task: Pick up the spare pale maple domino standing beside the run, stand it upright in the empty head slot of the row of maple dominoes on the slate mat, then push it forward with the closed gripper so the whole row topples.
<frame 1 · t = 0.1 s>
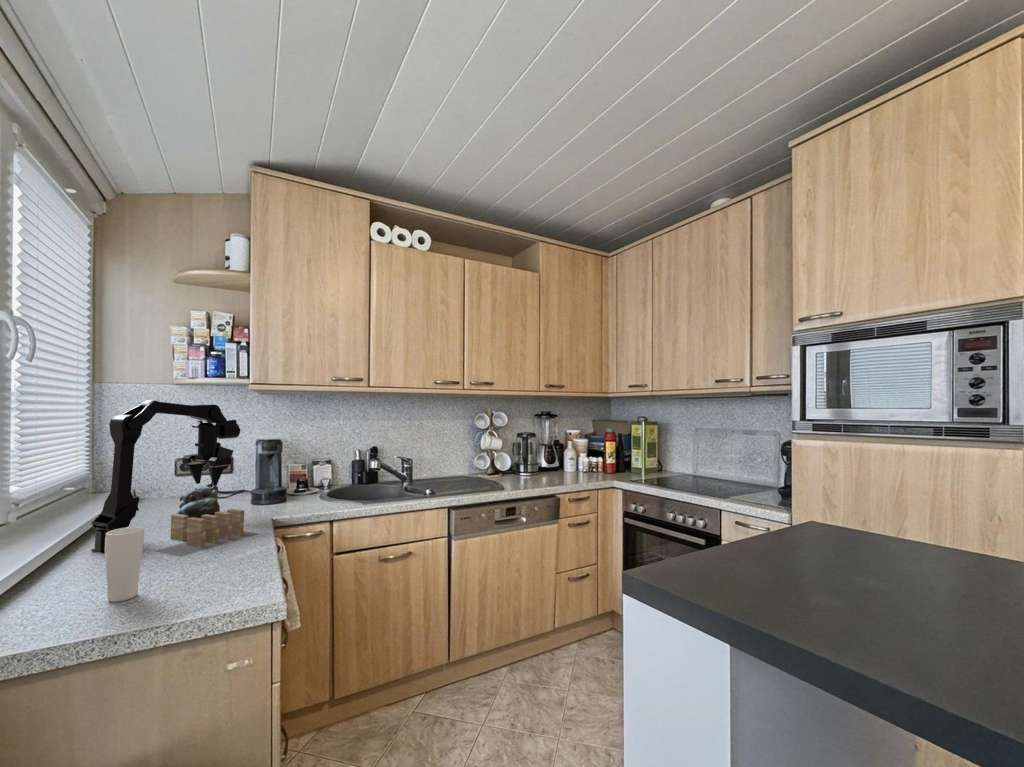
hand: (206, 484, 165), 15 cm above the countertop, tool pointing down, fingers open, 9 cm apart
domino 4: (222, 538, 150), resting on slate mat
slate mat: (209, 542, 146), on the countertop
domino 3: (209, 541, 146), resting on slate mat
domino 2: (195, 545, 142), resting on slate mat
domino 5: (235, 534, 154), resting on slate mat
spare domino: (179, 540, 148), on the countertop
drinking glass: (122, 598, 106), on the countertop
lucky cat figurine: (196, 518, 177), on the countertop
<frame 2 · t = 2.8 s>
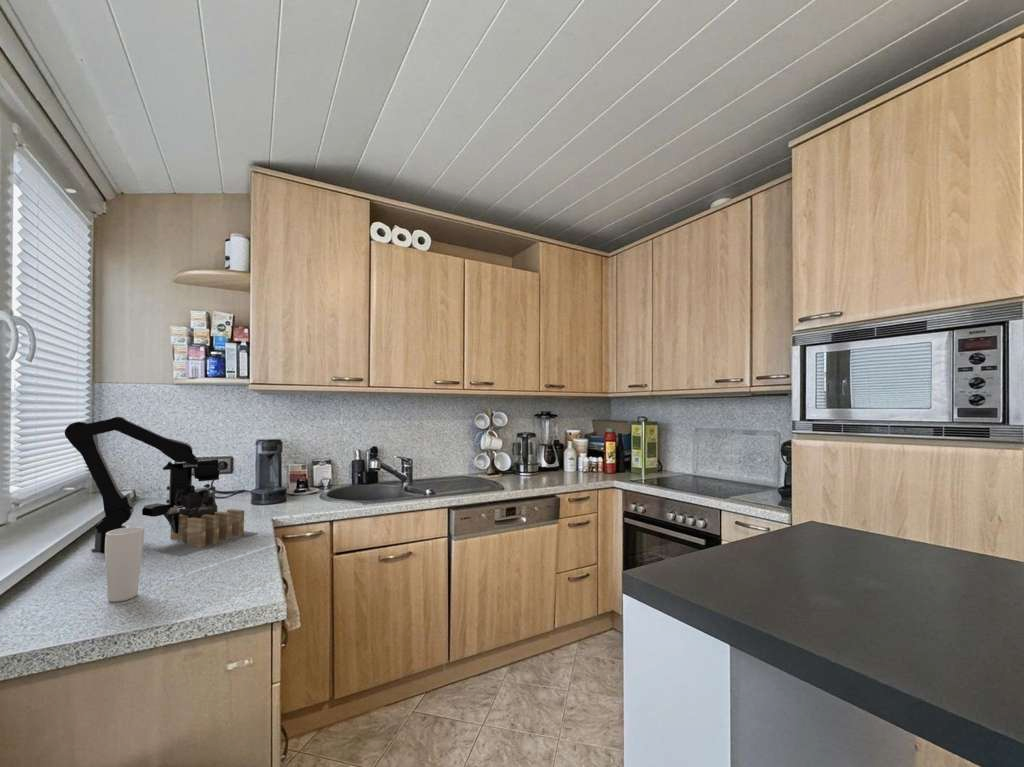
hand: (179, 532, 148), 3 cm above the countertop, tool pointing down, fingers closed on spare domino, 2 cm apart
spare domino: (179, 540, 148), on the countertop, touching gripper
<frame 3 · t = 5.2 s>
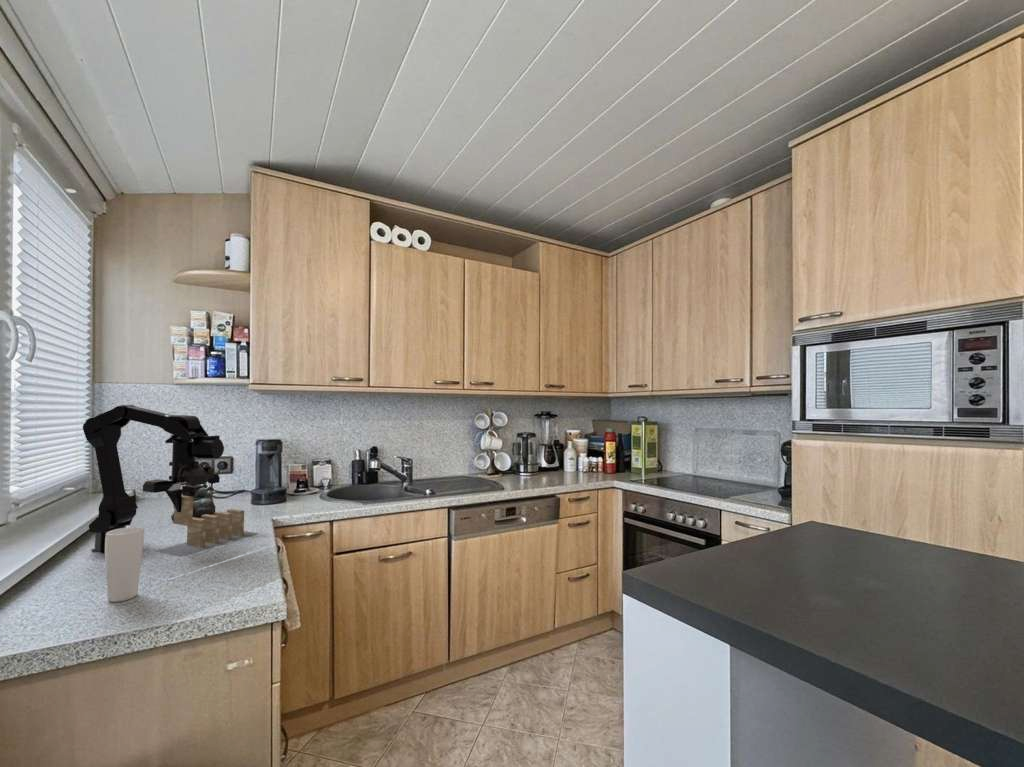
hand: (182, 511, 139), 12 cm above the countertop, tool pointing down, fingers closed on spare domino
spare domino: (182, 523, 138), point 8 cm above the countertop, touching gripper
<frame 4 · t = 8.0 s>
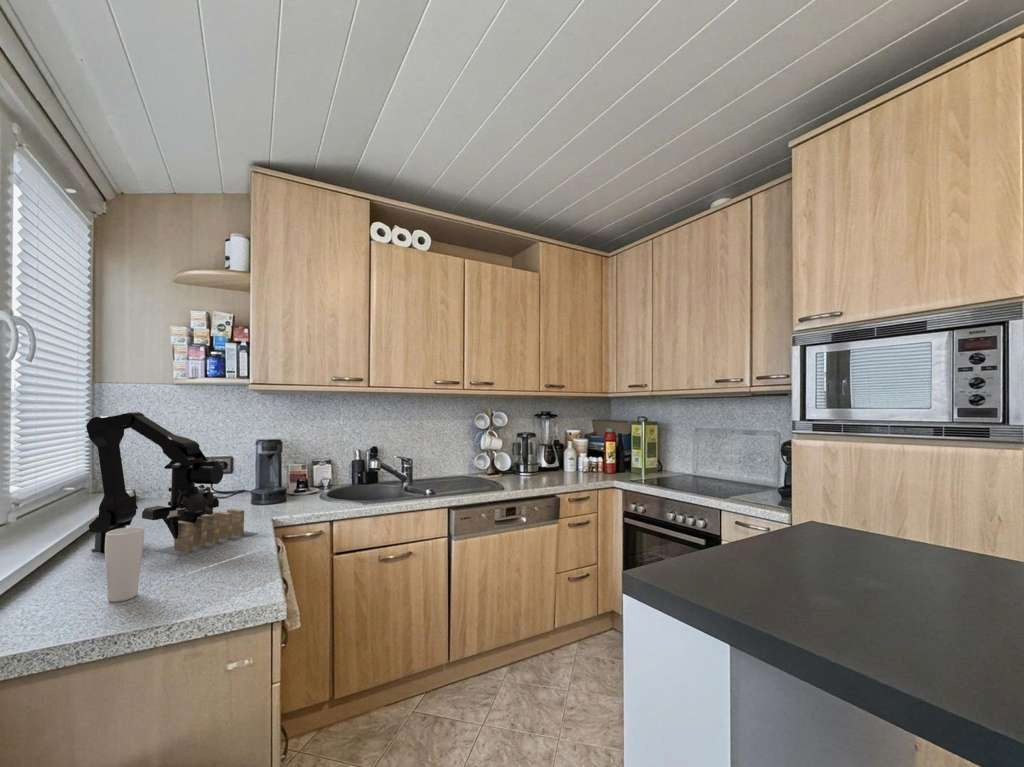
hand: (181, 537, 138), 4 cm above the countertop, tool pointing down, fingers open, 3 cm apart
domino 2: (195, 545, 142), resting on slate mat, tilted 5°, touching gripper
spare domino: (183, 550, 138), resting on slate mat
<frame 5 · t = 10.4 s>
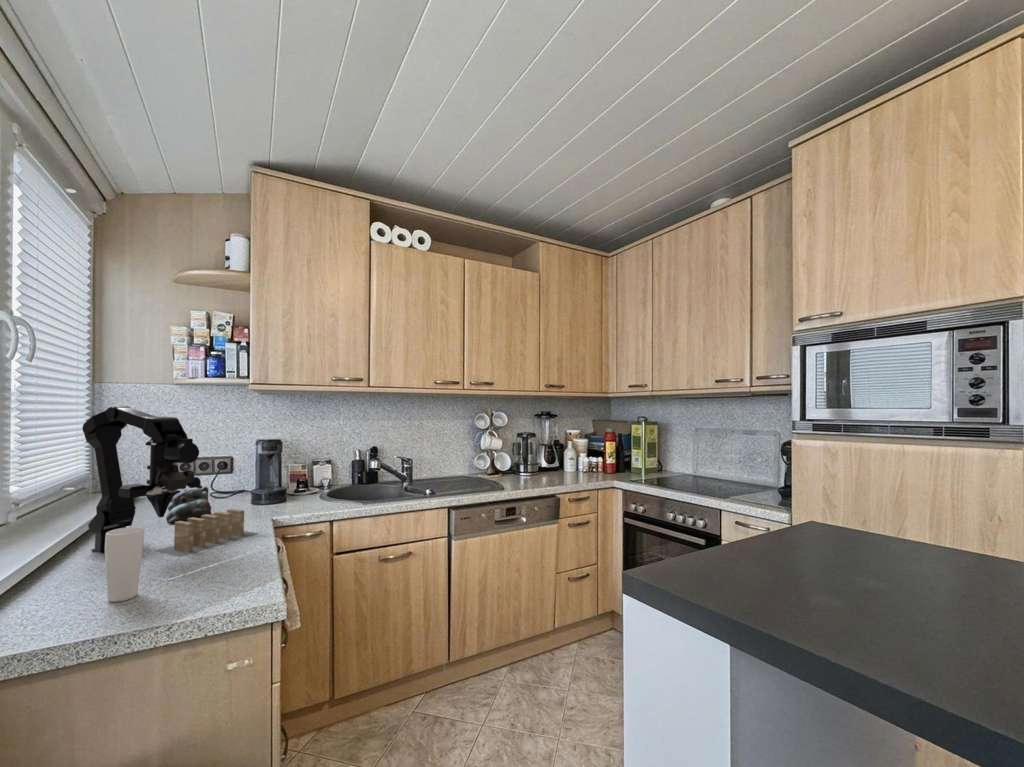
hand: (160, 517, 133), 11 cm above the countertop, tool pointing down, fingers closed
domino 2: (195, 545, 142), resting on slate mat
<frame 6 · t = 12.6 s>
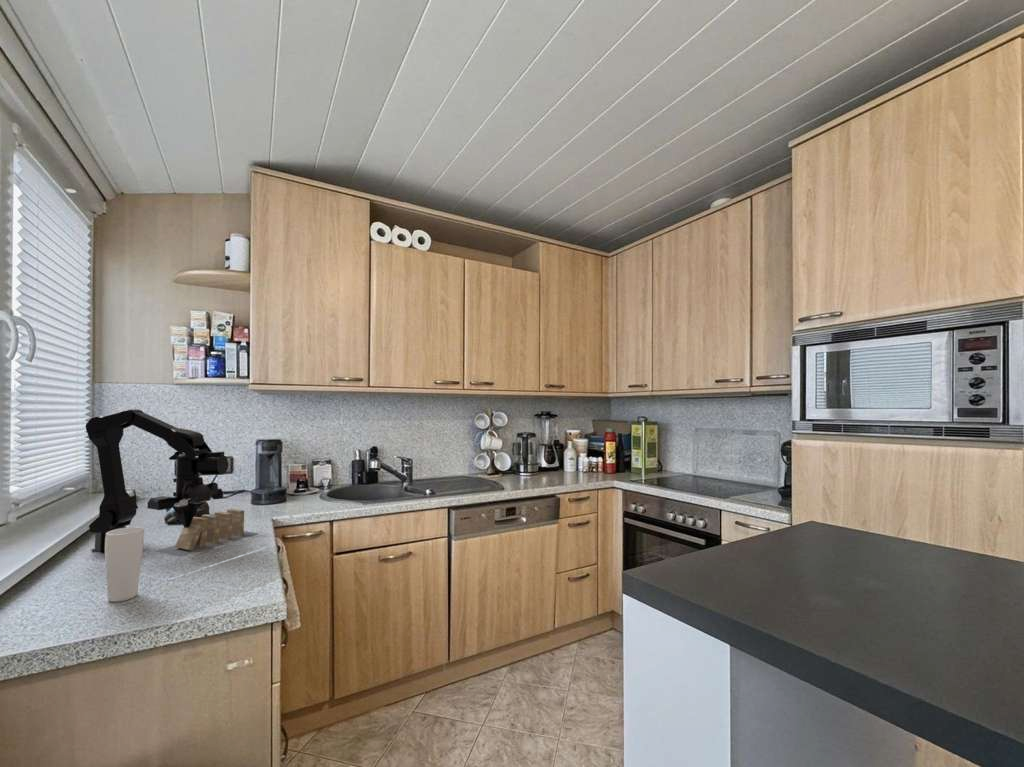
hand: (186, 527, 140), 7 cm above the countertop, tool pointing down, fingers closed
domino 2: (195, 545, 142), resting on slate mat, tilted 6°, touching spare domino
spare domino: (183, 548, 138), point 1 cm above the countertop, tilted 25°, touching domino 2, slate mat
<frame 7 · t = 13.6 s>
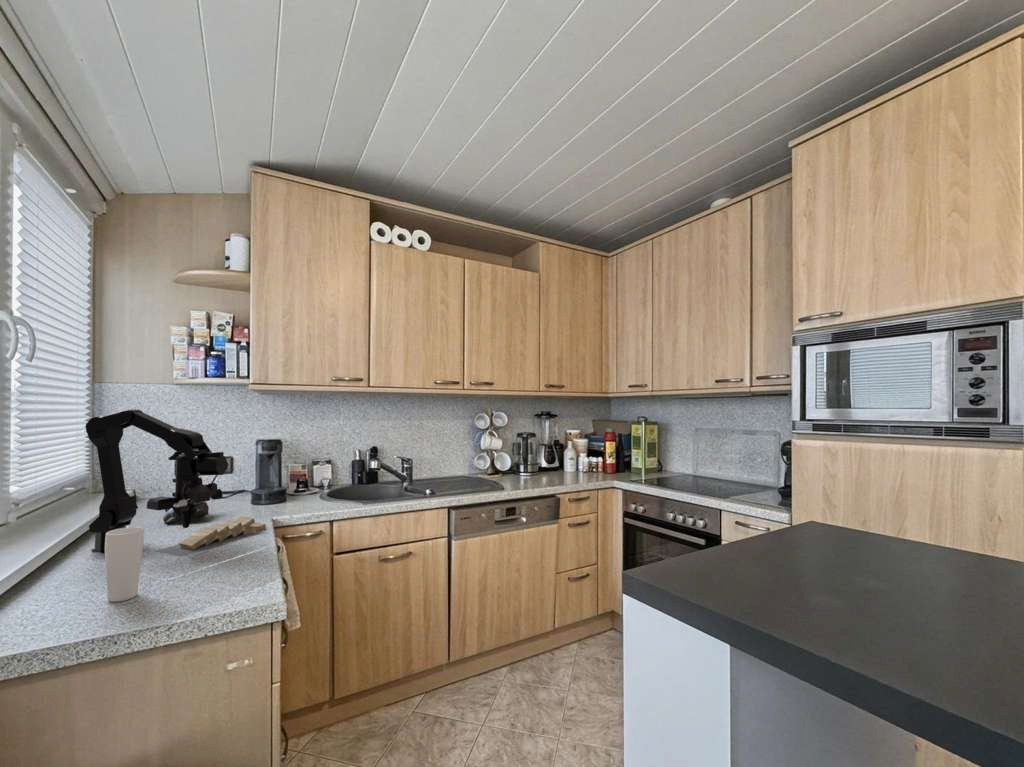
hand: (185, 527, 139), 6 cm above the countertop, tool pointing down, fingers closed
domino 4: (226, 534, 151), point 1 cm above the countertop, tilted 66°, touching domino 3, domino 5
domino 3: (212, 538, 147), point 1 cm above the countertop, tilted 68°, touching domino 2, domino 4, slate mat
domino 2: (198, 542, 143), point 1 cm above the countertop, tilted 68°, touching domino 3, slate mat, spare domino
domino 5: (237, 531, 155), point 1 cm above the countertop, tilted 90°, touching domino 4, slate mat
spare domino: (186, 546, 139), point 1 cm above the countertop, tilted 68°, touching domino 2, slate mat
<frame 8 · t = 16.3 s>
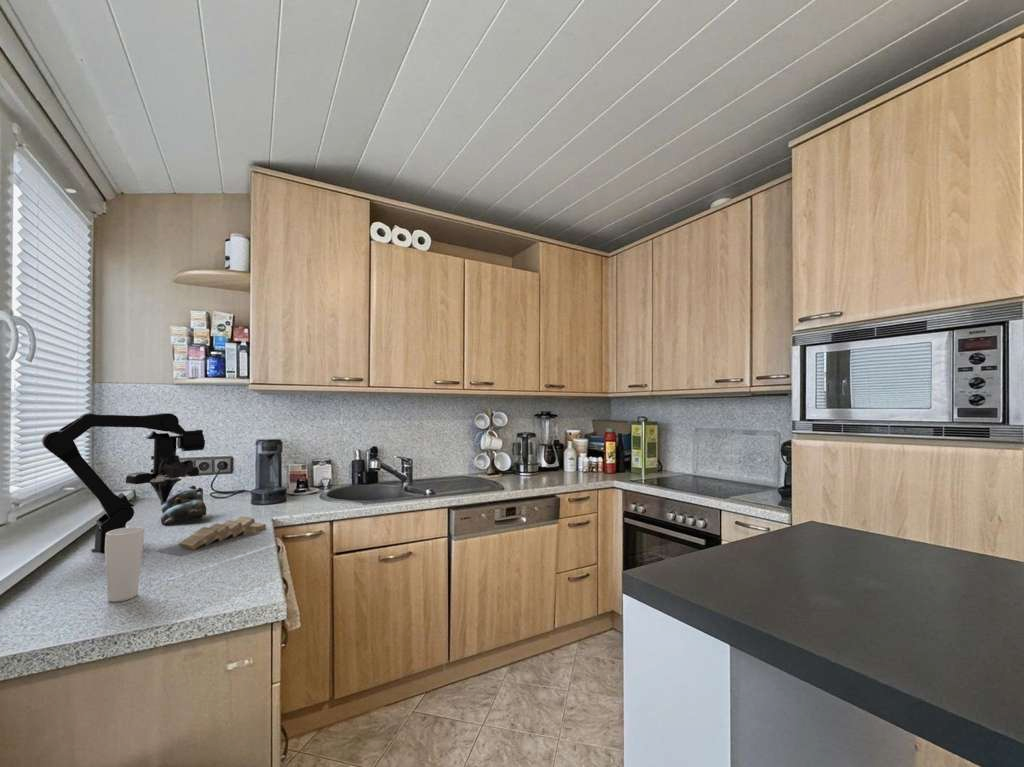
hand: (163, 502, 149), 12 cm above the countertop, tool pointing down, fingers closed
at the end: domino 5 tilted 90°; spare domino tilted 68°; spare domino inside the target area (1.1 cm from its centre), point 1.1 cm above the countertop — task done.
